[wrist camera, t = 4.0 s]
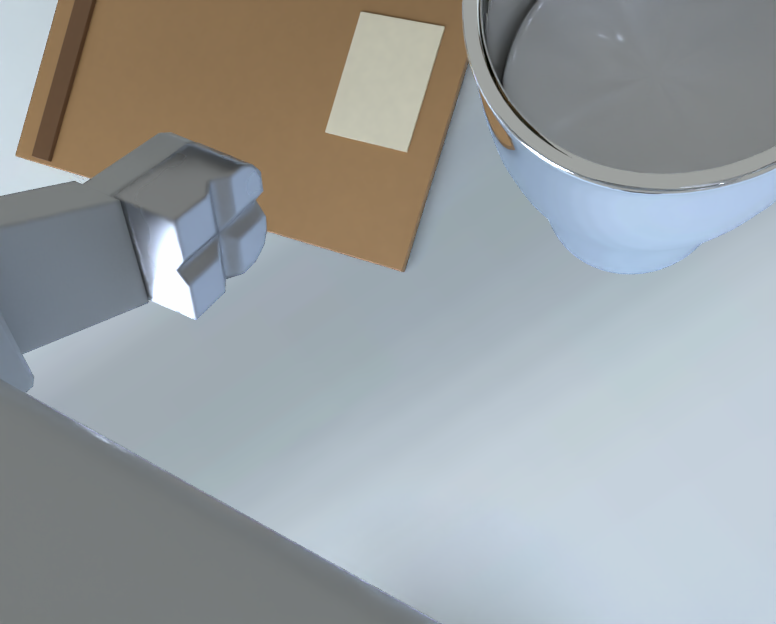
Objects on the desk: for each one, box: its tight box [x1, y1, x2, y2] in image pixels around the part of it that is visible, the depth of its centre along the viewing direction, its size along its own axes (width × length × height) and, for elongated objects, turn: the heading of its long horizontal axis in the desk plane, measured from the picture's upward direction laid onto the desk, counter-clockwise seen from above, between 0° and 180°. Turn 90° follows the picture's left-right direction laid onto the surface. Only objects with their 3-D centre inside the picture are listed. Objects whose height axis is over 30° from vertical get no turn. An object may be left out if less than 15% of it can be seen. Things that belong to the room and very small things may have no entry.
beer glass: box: [462, 0, 776, 274], centre depth 18 cm, size 7×7×15 cm
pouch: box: [16, 0, 469, 272], centre depth 29 cm, size 20×14×1 cm
